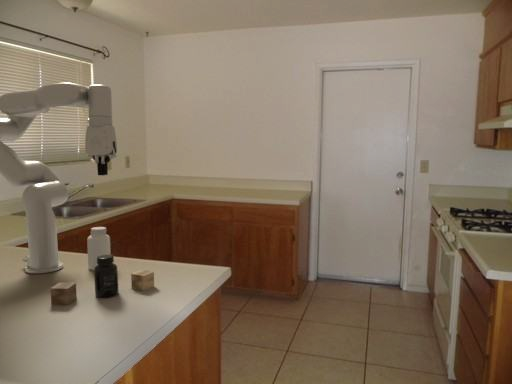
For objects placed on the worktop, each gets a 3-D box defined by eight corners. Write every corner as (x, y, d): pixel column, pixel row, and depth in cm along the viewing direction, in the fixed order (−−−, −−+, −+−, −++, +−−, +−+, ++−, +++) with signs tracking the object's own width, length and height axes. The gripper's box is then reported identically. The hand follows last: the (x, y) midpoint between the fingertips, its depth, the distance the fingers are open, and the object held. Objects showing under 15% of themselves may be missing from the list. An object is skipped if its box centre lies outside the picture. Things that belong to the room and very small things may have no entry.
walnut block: (51, 305, 120) (50, 288, 119) (60, 298, 125) (59, 282, 124) (68, 305, 120) (67, 288, 119) (76, 299, 125) (75, 282, 124)
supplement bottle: (121, 290, 132) (120, 253, 131) (114, 298, 125) (113, 259, 124) (99, 290, 132) (97, 253, 130) (91, 298, 125) (90, 259, 124)
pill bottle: (115, 265, 158) (114, 226, 156) (102, 271, 150) (100, 231, 149) (97, 263, 160) (95, 225, 158) (83, 269, 153) (81, 229, 151)
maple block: (131, 288, 134) (131, 273, 133) (142, 284, 138) (142, 269, 138) (143, 291, 132) (143, 275, 131) (154, 286, 136) (153, 271, 135)
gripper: (75, 121, 142) (77, 175, 144) (112, 121, 137) (114, 176, 140) (90, 122, 149) (92, 173, 151) (125, 122, 145) (127, 175, 147)
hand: (102, 175), depth 145 cm, fingers closed
